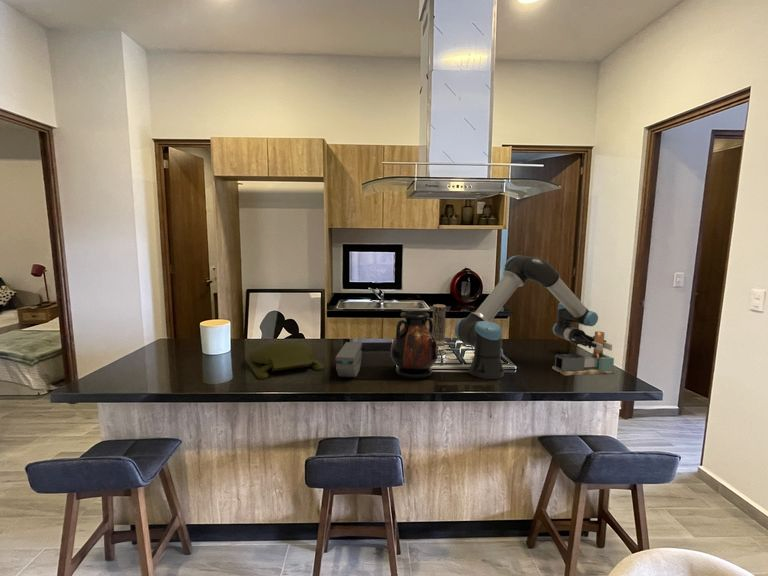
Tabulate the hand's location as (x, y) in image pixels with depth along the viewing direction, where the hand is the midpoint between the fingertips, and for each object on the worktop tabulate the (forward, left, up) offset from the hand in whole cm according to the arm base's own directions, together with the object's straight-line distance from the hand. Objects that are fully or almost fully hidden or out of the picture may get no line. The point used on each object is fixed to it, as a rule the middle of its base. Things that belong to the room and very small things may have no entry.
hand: (606, 347), depth 189 cm
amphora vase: (-88, +12, -13) cm, 90 cm away
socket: (+2, +5, -11) cm, 13 cm away
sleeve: (-15, +5, -11) cm, 19 cm away
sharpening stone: (-117, +17, -13) cm, 119 cm away
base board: (-8, +5, -12) cm, 16 cm away
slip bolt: (-5, +5, -10) cm, 13 cm away
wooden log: (-65, +49, -13) cm, 83 cm away
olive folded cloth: (-148, +34, -13) cm, 152 cm away
